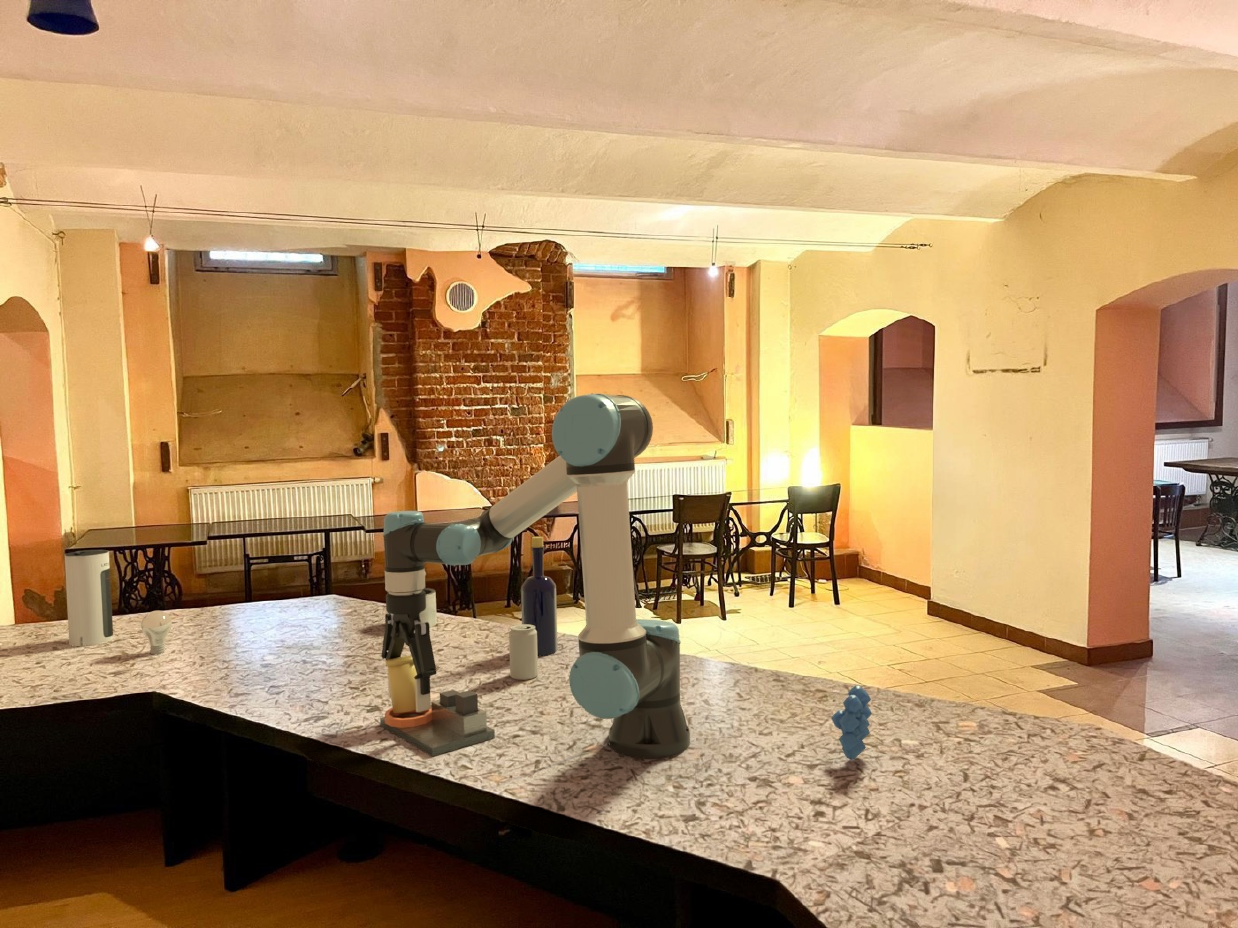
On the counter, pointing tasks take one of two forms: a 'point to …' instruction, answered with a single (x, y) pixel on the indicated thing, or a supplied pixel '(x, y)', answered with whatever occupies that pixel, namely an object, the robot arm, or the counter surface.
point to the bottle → (540, 603)
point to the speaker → (88, 597)
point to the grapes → (853, 722)
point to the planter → (429, 608)
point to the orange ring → (407, 719)
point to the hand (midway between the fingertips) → (409, 702)
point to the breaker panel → (444, 729)
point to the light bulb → (156, 630)
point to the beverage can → (523, 652)
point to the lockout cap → (402, 683)
